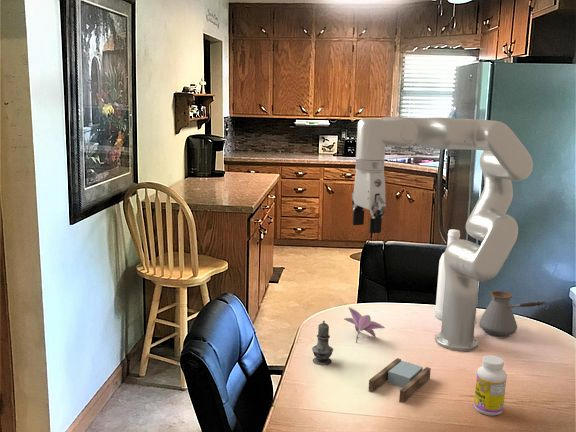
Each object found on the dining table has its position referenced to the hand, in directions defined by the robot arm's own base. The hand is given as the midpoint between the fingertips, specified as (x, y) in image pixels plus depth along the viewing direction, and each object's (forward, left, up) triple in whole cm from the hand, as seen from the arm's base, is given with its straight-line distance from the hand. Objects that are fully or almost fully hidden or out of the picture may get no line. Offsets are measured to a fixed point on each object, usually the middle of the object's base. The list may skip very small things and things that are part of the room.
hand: (366, 228), depth 162 cm
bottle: (-45, +8, -37) cm, 59 cm away
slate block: (+5, +16, -38) cm, 41 cm away
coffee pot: (-41, +30, -37) cm, 63 cm away
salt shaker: (+9, -7, -37) cm, 39 cm away
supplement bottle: (+6, +38, -37) cm, 54 cm away
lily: (-12, -6, -38) cm, 40 cm away
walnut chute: (+8, +16, -37) cm, 41 cm away
